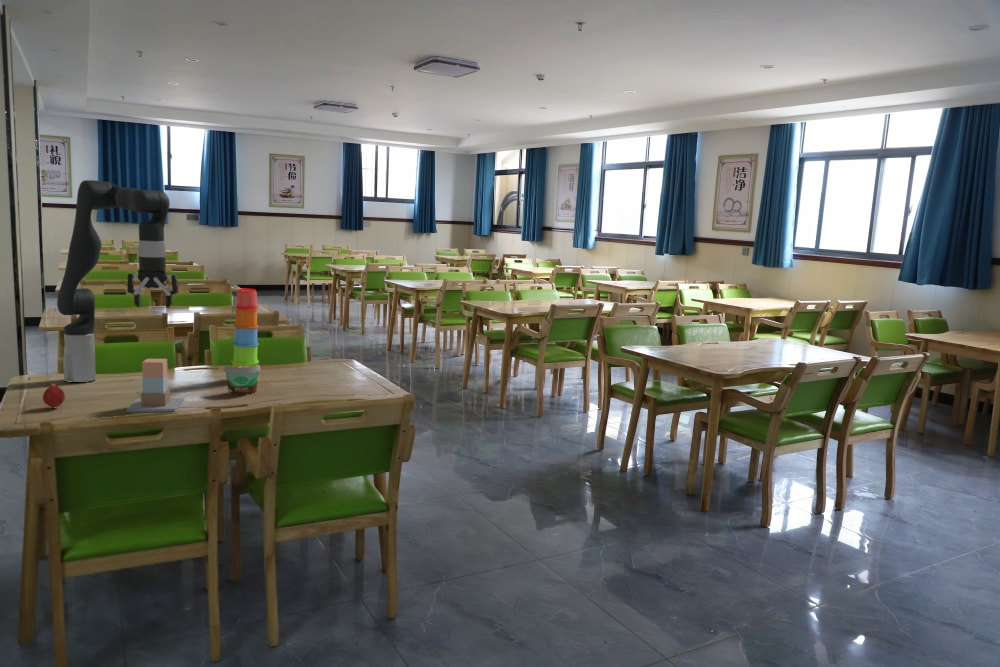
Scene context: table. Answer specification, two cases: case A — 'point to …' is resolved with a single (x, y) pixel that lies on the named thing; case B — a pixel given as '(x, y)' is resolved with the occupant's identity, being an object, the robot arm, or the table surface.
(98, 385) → the table surface
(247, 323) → the stacking cups
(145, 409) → the tower base
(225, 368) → the food container
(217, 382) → the table surface
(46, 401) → the onion
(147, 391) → the brick
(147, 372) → the brick
